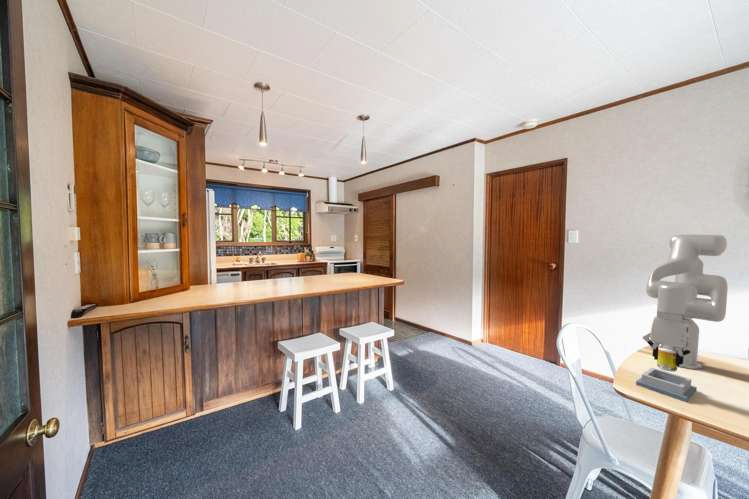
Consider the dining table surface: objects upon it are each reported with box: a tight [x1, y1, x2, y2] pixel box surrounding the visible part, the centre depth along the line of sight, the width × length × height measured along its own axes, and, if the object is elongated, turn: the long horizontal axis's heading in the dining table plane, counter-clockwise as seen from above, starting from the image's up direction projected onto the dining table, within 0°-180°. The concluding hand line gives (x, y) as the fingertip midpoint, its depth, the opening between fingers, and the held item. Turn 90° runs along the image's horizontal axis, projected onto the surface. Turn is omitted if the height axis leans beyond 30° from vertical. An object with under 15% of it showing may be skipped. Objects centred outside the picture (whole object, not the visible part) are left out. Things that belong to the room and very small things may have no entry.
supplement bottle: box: [656, 344, 678, 373], centre depth 113 cm, size 6×6×10 cm
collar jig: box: [635, 367, 698, 403], centre depth 114 cm, size 14×14×4 cm
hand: (667, 361), depth 113 cm, fingers closed on supplement bottle, 5 cm apart
